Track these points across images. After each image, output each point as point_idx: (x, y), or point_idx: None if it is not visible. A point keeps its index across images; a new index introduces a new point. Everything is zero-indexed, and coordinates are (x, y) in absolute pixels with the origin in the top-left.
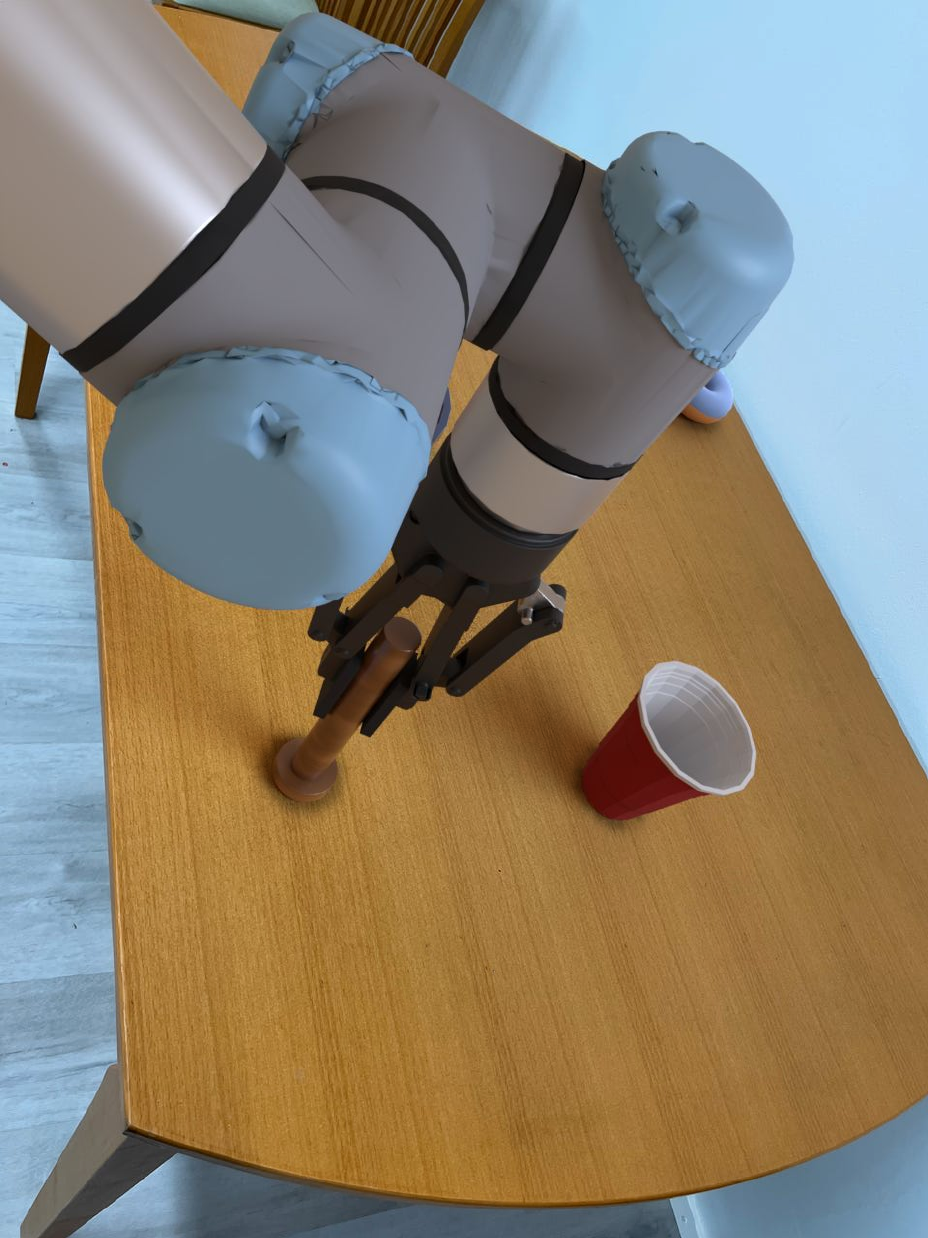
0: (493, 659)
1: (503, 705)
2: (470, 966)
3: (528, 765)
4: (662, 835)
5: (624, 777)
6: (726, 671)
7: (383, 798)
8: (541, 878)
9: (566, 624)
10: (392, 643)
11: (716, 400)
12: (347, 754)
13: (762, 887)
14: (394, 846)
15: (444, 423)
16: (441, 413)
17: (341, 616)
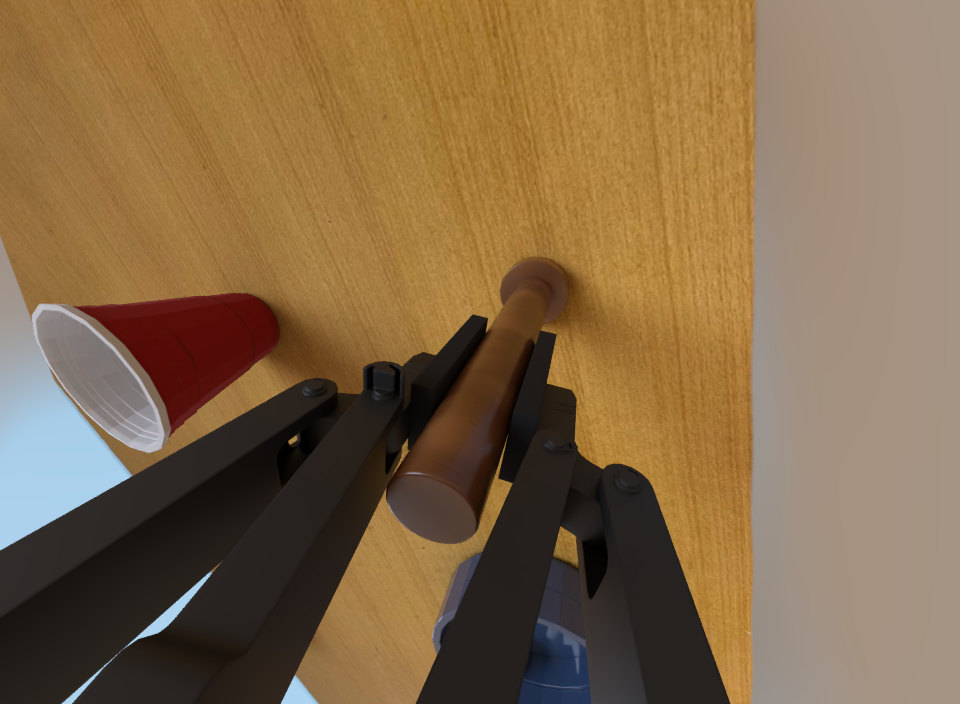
0: (144, 494)
1: (355, 384)
2: (337, 103)
3: (324, 332)
4: (203, 286)
5: (204, 322)
6: (196, 432)
7: (450, 277)
8: (291, 221)
9: None
10: (451, 489)
11: None
12: (490, 317)
13: (117, 253)
14: (433, 226)
15: (436, 629)
16: (440, 636)
17: (571, 524)
